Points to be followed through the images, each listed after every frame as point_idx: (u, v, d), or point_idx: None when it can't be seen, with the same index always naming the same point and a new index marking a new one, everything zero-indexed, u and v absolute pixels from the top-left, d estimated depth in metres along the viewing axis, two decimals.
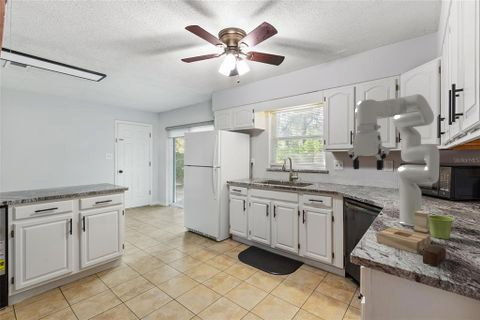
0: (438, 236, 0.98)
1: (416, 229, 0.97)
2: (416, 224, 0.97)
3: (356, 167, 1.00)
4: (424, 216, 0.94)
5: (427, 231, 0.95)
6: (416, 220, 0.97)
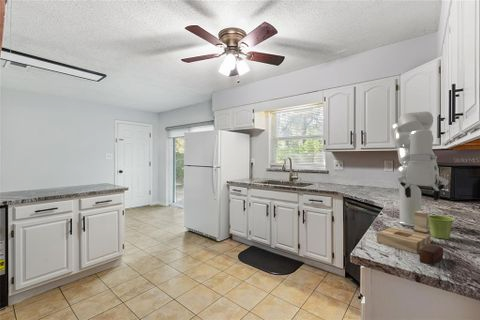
0: (438, 236, 0.98)
1: (416, 229, 0.97)
2: (416, 224, 0.97)
3: (408, 195, 1.00)
4: (424, 216, 0.94)
5: (427, 231, 0.95)
6: (416, 220, 0.97)
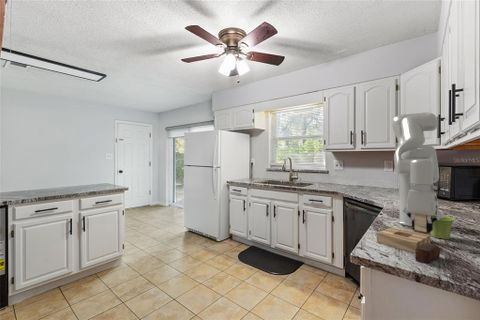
0: (438, 236, 0.98)
1: (416, 229, 0.97)
2: (416, 224, 0.97)
3: None
4: (424, 216, 0.94)
5: None
6: (416, 220, 0.97)
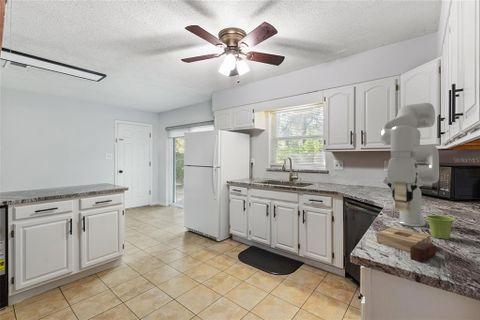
0: (438, 236, 0.98)
1: (396, 199, 0.93)
2: (396, 193, 0.93)
3: None
4: (404, 184, 0.91)
5: None
6: (396, 189, 0.93)
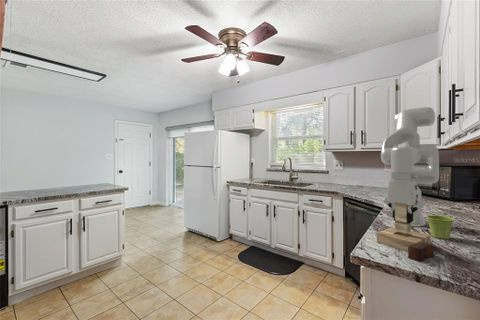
0: (438, 236, 0.98)
1: (396, 220, 0.93)
2: (396, 214, 0.93)
3: None
4: (404, 206, 0.91)
5: None
6: (396, 210, 0.93)
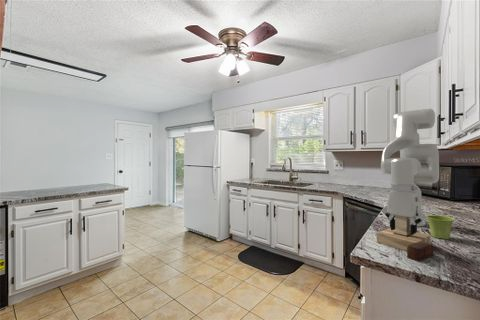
0: (438, 236, 0.98)
1: (396, 233, 0.94)
2: (397, 227, 0.93)
3: (393, 228, 0.96)
4: (404, 219, 0.91)
5: (408, 234, 0.91)
6: (397, 223, 0.93)
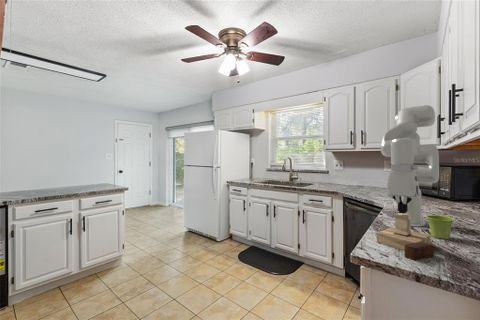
0: (438, 236, 0.98)
1: (397, 233, 0.94)
2: (397, 227, 0.93)
3: None
4: (404, 219, 0.91)
5: (408, 234, 0.91)
6: (397, 223, 0.93)
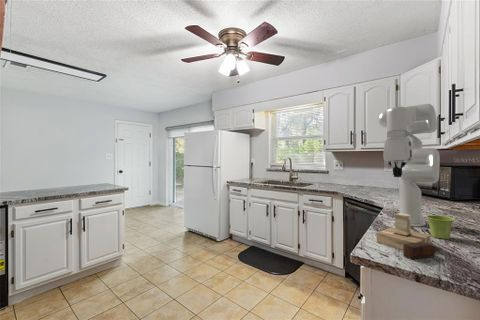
0: (438, 236, 0.98)
1: (397, 233, 0.94)
2: (397, 227, 0.93)
3: None
4: (404, 219, 0.91)
5: (408, 234, 0.91)
6: (397, 223, 0.93)
